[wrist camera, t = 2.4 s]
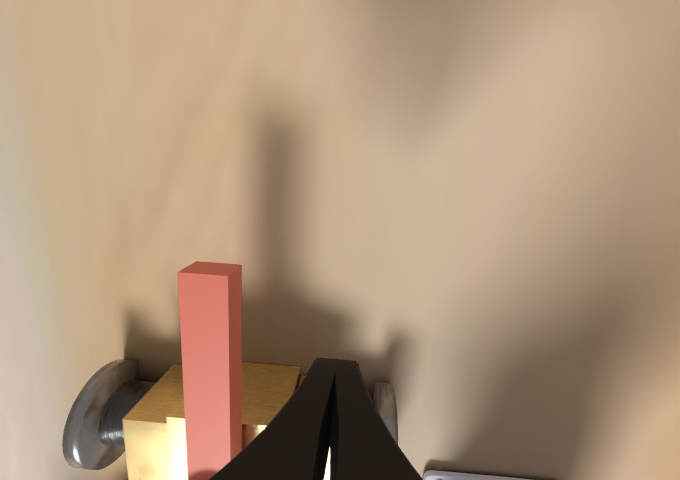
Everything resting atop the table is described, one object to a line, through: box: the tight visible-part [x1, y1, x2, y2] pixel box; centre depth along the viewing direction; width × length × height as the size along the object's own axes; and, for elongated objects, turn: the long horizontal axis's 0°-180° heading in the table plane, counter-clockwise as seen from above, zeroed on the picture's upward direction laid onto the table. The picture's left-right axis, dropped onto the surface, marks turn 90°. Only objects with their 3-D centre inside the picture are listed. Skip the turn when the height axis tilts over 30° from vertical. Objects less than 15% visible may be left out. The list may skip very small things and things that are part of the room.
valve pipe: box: [63, 360, 398, 480], centre depth 19 cm, size 18×6×6 cm, turn 86°
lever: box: [178, 261, 242, 480], centre depth 14 cm, size 13×3×2 cm, turn 176°
